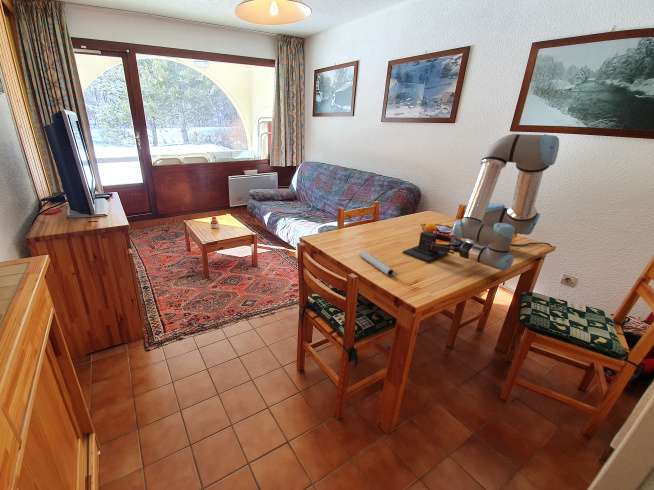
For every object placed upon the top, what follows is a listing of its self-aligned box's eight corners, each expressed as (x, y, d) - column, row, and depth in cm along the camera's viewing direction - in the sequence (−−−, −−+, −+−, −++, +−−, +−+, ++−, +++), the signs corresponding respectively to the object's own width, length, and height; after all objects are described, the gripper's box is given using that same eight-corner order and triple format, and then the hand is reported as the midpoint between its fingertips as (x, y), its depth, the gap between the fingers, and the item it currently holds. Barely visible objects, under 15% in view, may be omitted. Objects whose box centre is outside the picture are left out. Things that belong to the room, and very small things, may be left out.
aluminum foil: (358, 257, 157) (359, 250, 155) (370, 255, 159) (370, 249, 157) (386, 276, 137) (387, 269, 136) (399, 274, 139) (400, 267, 138)
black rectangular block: (422, 248, 164) (426, 230, 160) (433, 252, 159) (437, 234, 155) (417, 250, 161) (420, 232, 157) (428, 254, 157) (431, 236, 153)
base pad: (422, 245, 171) (423, 241, 170) (447, 254, 160) (448, 249, 159) (402, 253, 161) (403, 248, 160) (427, 262, 151) (428, 257, 150)
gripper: (455, 265, 136) (412, 250, 152) (482, 253, 149) (440, 240, 165) (459, 250, 133) (415, 236, 149) (486, 238, 146) (443, 226, 162)
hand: (428, 238), depth 157 cm, fingers open, 13 cm apart
